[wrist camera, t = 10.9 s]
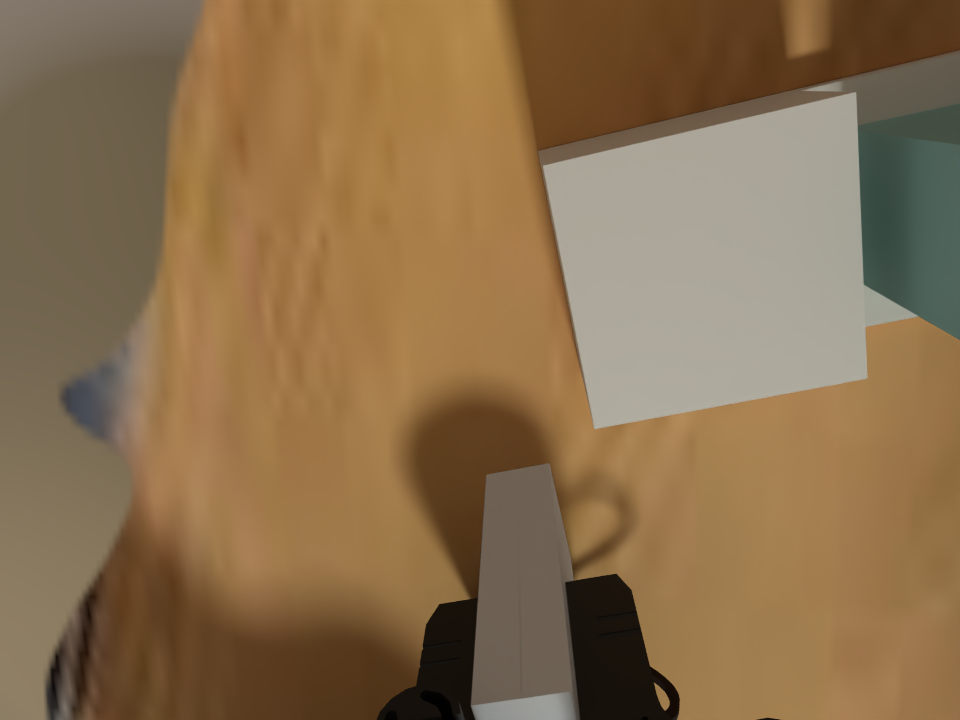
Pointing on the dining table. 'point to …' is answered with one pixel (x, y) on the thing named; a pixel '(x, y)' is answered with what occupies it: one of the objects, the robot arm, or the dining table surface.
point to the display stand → (727, 245)
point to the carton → (913, 212)
